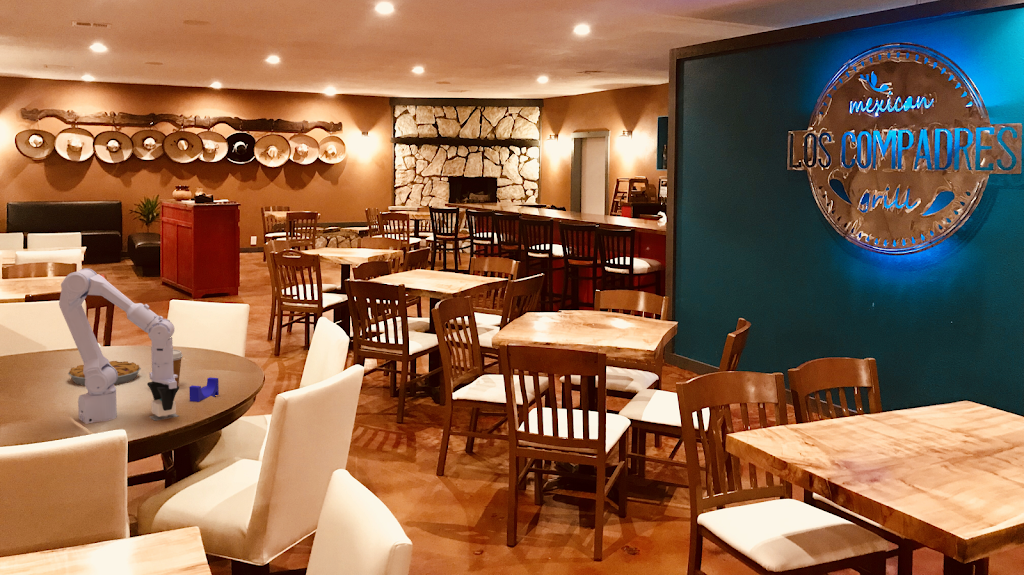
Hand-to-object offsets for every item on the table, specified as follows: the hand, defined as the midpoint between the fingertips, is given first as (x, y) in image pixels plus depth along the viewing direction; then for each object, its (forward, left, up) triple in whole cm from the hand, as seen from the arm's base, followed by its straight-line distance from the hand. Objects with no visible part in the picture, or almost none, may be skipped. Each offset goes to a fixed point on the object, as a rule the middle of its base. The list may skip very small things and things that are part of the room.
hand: (163, 407), depth 233 cm
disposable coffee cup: (+16, +34, -4) cm, 38 cm away
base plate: (0, 0, -4) cm, 4 cm away
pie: (+4, +57, -4) cm, 58 cm away
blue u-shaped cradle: (+18, +13, -4) cm, 23 cm away
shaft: (0, 0, -3) cm, 3 cm away
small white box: (0, 0, -2) cm, 2 cm away
